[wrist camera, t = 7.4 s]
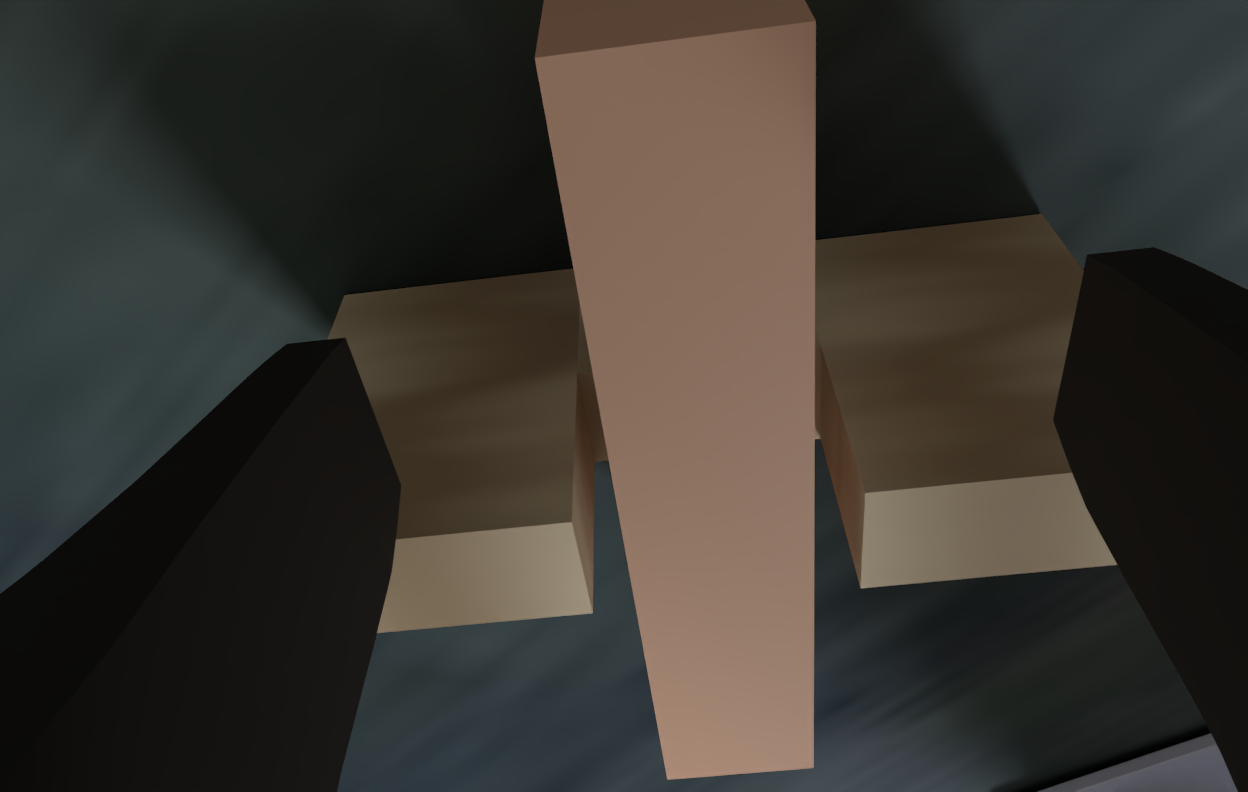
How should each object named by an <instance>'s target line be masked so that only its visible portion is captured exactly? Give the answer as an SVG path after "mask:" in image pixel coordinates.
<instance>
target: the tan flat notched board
mask: <svg viewBox="0 0 1248 792" xmlns="http://www.w3.org/2000/svg"><path fill="white" fill-rule="evenodd" d="M535 63H536V68H537V73H538V79H539V84H540V90H541V95H542V101H543V106H544V111H545V117H546V122H547V128H548V133H549V139H550V144H551V150H552V155H553V160H554V166H555V171H556V177H557V182H558V188H559V193H560V198H561V204H562V209H563V215H564V220H565V226H566V231H567V236H568V242H569V247H570V253H571V258H572V264H573V269H574V275H575V280H576V285H577V291H578V296H579V302H580V307H581V313H582V318H583V323H584V329H585V334H586V340H587V345H588V351H589V356H590V361H591V367H592V372H593V378H594V383H595V389H596V394H597V399H598V405H599V410H600V416H601V421H602V427H603V432H604V438H605V443H606V448H607V454H608V459H609V465H610V470H611V476H612V481H613V486H614V492H615V497H616V503H617V508H618V514H619V519H620V524H621V530H622V535H623V541H624V546H625V552H626V557H627V563H628V568H629V573H630V579H631V584H632V590H633V595H634V601H635V606H636V611H637V617H638V622H639V628H640V633H641V639H642V644H643V649H644V655H645V660H646V666H647V671H648V677H649V682H650V688H651V693H652V698H653V704H654V709H655V715H656V720H657V726H658V731H659V736H660V742H661V747H662V753H663V758H664V764H665V769H666V774H667V780H670V779H682V778H695V777H707V776H720V775H732V774H745V773H757V772H769V771H782V770H794V769H807V768H814V490H815V170H816V20H815V18H814V16H813V15H812V13H811V11H810V9H809V7H808V5H807V3H806V2H805V0H544V3H543V9H542V15H541V21H540V28H539V34H538V40H537V46H536V53H535Z"/></svg>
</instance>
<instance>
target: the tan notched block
mask: <svg viewBox="0 0 1248 792" xmlns="http://www.w3.org/2000/svg"><path fill="white" fill-rule="evenodd" d="M1083 273H1084V270H1083V269H1082V267H1081V266H1080V265H1079V263H1078V262H1077V261H1076V259H1075V258H1074V257H1073V255H1072V254H1071V253H1070V251H1069V250H1068V248H1067V247H1066V246H1065V244H1064V243H1063V242H1062V240H1061V239H1060V238H1059V236H1058V235H1057V234H1056V232H1055V231H1054V230H1053V228H1052V227H1051V226H1050V224H1049V223H1048V222H1047V220H1046V219H1045V218H1044V216H1043V215H1042V214H1037V215H1028V216H1020V217H1011V218H1003V219H994V220H985V221H977V222H968V223H960V224H951V225H942V226H934V227H925V228H917V229H908V230H899V231H891V232H882V233H874V234H865V235H857V236H848V237H839V238H831V239H822V240H815V439H821V442H822V446H823V450H824V453H825V457H826V461H827V465H828V468H829V472H830V476H831V480H832V483H833V487H834V491H835V495H836V498H837V502H838V506H839V510H840V513H841V517H842V521H843V525H844V528H845V532H846V536H847V540H848V543H849V547H850V551H851V555H852V558H853V562H854V566H855V570H856V573H857V577H858V581H859V585H860V588H871V587H882V586H893V585H904V584H914V583H925V582H936V581H947V580H958V579H969V578H979V577H990V576H1001V575H1012V574H1023V573H1034V572H1045V571H1055V570H1066V569H1077V568H1088V567H1099V566H1110V565H1117V563H1116V561H1115V559H1114V558H1113V556H1112V554H1111V552H1110V550H1109V549H1108V547H1107V545H1106V543H1105V541H1104V539H1103V538H1102V536H1101V534H1100V532H1099V530H1098V529H1097V527H1096V525H1095V523H1094V521H1093V519H1092V517H1091V516H1090V514H1089V512H1088V510H1087V508H1086V506H1085V504H1084V501H1083V499H1082V496H1081V494H1080V491H1079V489H1078V486H1077V484H1076V481H1075V479H1074V476H1073V474H1072V471H1071V469H1070V466H1069V463H1068V460H1067V458H1066V455H1065V452H1064V449H1063V447H1062V444H1061V441H1060V438H1059V436H1058V433H1057V430H1056V427H1055V424H1054V422H1053V417H1054V412H1055V407H1056V403H1057V398H1058V393H1059V388H1060V383H1061V378H1062V374H1063V369H1064V364H1065V359H1066V354H1067V350H1068V345H1069V340H1070V335H1071V330H1072V326H1073V321H1074V316H1075V311H1076V306H1077V301H1078V297H1079V292H1080V287H1081V282H1082V277H1083ZM337 338H346V340H347V343H348V345H349V348H350V351H351V353H352V356H353V358H354V361H355V364H356V366H357V369H358V372H359V374H360V377H361V380H362V382H363V385H364V388H365V390H366V393H367V396H368V398H369V401H370V403H371V406H372V409H373V411H374V414H375V417H376V419H377V422H378V425H379V427H380V430H381V433H382V435H383V438H384V441H385V443H386V446H387V449H388V451H389V454H390V456H391V459H392V462H393V464H394V467H395V470H396V472H397V475H398V478H399V480H400V483H401V494H400V504H399V515H398V525H397V535H396V543H395V551H394V559H393V567H392V573H391V577H390V582H389V586H388V590H387V594H386V598H385V602H384V606H383V610H382V614H381V618H380V622H379V626H378V631H377V633H383V632H394V631H405V630H415V629H426V628H437V627H448V626H459V625H470V624H481V623H491V622H502V621H513V620H524V619H535V618H546V617H556V616H567V615H578V614H589V613H593V550H594V464H595V462H598V461H608V460H609V459H608V454H607V448H606V443H605V438H604V432H603V427H602V421H601V416H600V410H599V405H598V399H597V394H596V389H595V383H594V378H593V372H592V367H591V361H590V356H589V351H588V345H587V340H586V334H585V329H584V323H583V318H582V313H581V307H580V302H579V296H578V291H577V285H576V280H575V275H574V269H564V270H556V271H547V272H539V273H530V274H521V275H513V276H504V277H496V278H487V279H478V280H470V281H461V282H453V283H444V284H435V285H427V286H418V287H410V288H401V289H393V290H384V291H375V292H367V293H358V294H350V295H344V298H343V300H342V303H341V306H340V308H339V311H338V313H337V316H336V318H335V321H334V324H333V326H332V329H331V331H330V334H329V336H328V339H337ZM328 339H327V340H328Z"/></svg>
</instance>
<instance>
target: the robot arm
mask: <svg viewBox="0 0 1248 792" xmlns="http://www.w3.org/2000/svg"><path fill="white" fill-rule="evenodd" d="M1053 422H1054V424H1055V427H1056V430H1057V433H1058V436H1059V438H1060V441H1061V444H1062V447H1063V449H1064V452H1065V455H1066V458H1067V460H1068V463H1069V466H1070V469H1071V471H1072V474H1073V476H1074V479H1075V481H1076V484H1077V486H1078V489H1079V491H1080V494H1081V496H1082V499H1083V501H1084V504H1085V506H1086V508H1087V510H1088V512H1089V514H1090V516H1091V517H1092V519H1093V521H1094V523H1095V525H1096V527H1097V529H1098V530H1099V532H1100V534H1101V536H1102V538H1103V539H1104V541H1105V543H1106V545H1107V547H1108V549H1109V550H1110V552H1111V554H1112V556H1113V558H1114V559H1115V561H1116V563H1117V565H1118V567H1119V568H1120V570H1121V572H1122V574H1123V576H1124V577H1125V579H1126V581H1127V583H1128V585H1129V586H1130V588H1131V590H1132V592H1133V593H1134V595H1135V597H1136V599H1137V600H1138V602H1139V604H1140V606H1141V608H1142V609H1143V611H1144V613H1145V615H1146V616H1147V618H1148V620H1149V622H1150V623H1151V625H1152V627H1153V629H1154V630H1155V632H1156V634H1157V636H1158V638H1159V639H1160V641H1161V643H1162V645H1163V646H1164V648H1165V650H1166V652H1167V654H1168V655H1169V657H1170V659H1171V661H1172V662H1173V664H1174V666H1175V668H1176V669H1177V671H1178V673H1179V675H1180V677H1181V678H1182V680H1183V682H1184V684H1185V685H1186V687H1187V689H1188V691H1189V692H1190V694H1191V696H1192V698H1193V700H1194V701H1195V703H1196V705H1197V707H1198V709H1199V711H1200V713H1201V715H1202V717H1203V719H1204V721H1205V723H1206V725H1207V727H1208V728H1209V730H1210V732H1211V733H1209V734H1206V735H1203V736H1200V737H1197V738H1194V739H1191V740H1188V741H1185V742H1182V743H1179V744H1176V745H1174V746H1171V747H1168V748H1165V749H1162V750H1159V751H1156V752H1153V753H1150V754H1147V755H1144V756H1141V757H1138V758H1135V759H1132V760H1129V761H1126V762H1123V763H1120V764H1117V765H1114V766H1111V767H1108V768H1105V769H1102V770H1099V771H1096V772H1093V773H1090V774H1087V775H1084V776H1081V777H1078V778H1075V779H1072V780H1069V781H1066V782H1064V783H1061V784H1058V785H1055V786H1052V787H1049V788H1046V789H1043V790H1040V791H1037V792H1248V290H1247V289H1245V288H1243V287H1241V286H1239V285H1237V284H1235V283H1233V282H1231V281H1228V280H1226V279H1224V278H1222V277H1220V276H1218V275H1216V274H1214V273H1212V272H1210V271H1208V270H1206V269H1204V268H1201V267H1199V266H1197V265H1195V264H1193V263H1191V262H1188V261H1186V260H1184V259H1182V258H1179V257H1177V256H1175V255H1172V254H1170V253H1167V252H1165V251H1162V250H1159V249H1157V248H1154V247H1153V248H1144V249H1135V250H1126V251H1117V252H1108V253H1099V254H1091V255H1087V258H1086V263H1085V268H1084V273H1083V277H1082V282H1081V287H1080V292H1079V297H1078V301H1077V306H1076V311H1075V316H1074V321H1073V326H1072V330H1071V335H1070V340H1069V345H1068V350H1067V354H1066V359H1065V364H1064V369H1063V374H1062V378H1061V383H1060V388H1059V393H1058V398H1057V403H1056V407H1055V412H1054V417H1053ZM400 494H401V483H400V480H399V478H398V475H397V472H396V470H395V467H394V464H393V462H392V459H391V456H390V454H389V451H388V449H387V446H386V443H385V441H384V438H383V435H382V433H381V430H380V427H379V425H378V422H377V419H376V417H375V414H374V411H373V409H372V406H371V403H370V401H369V398H368V396H367V393H366V390H365V388H364V385H363V382H362V380H361V377H360V374H359V372H358V369H357V366H356V364H355V361H354V358H353V356H352V353H351V351H350V348H349V345H348V343H347V340H346V338H337V339H328V340H319V341H310V342H301V343H292V344H286V345H285V346H284V347H282V348H281V349H280V350H279V351H277V352H276V353H275V354H274V355H272V356H271V357H270V358H269V359H268V360H266V361H265V362H264V363H263V364H262V365H261V366H260V367H258V368H257V369H256V370H255V371H254V372H253V373H252V374H251V375H250V376H248V377H247V378H246V379H245V380H244V381H243V382H242V383H241V384H240V385H239V386H238V387H237V388H235V389H234V390H233V391H232V392H231V393H230V394H229V395H228V396H227V397H226V398H225V399H224V400H223V401H222V402H220V403H219V404H218V405H217V406H216V407H215V408H214V409H213V410H212V411H211V412H210V413H209V414H208V415H207V416H206V417H205V418H203V419H202V420H201V421H200V422H199V423H198V424H197V425H196V426H195V427H194V428H193V429H192V430H191V431H189V432H188V433H187V434H186V435H185V436H184V437H183V438H182V439H181V440H180V441H179V442H178V443H177V444H175V445H174V446H173V447H172V448H171V449H170V450H169V451H168V452H167V453H166V454H165V455H164V456H162V457H161V458H160V459H159V460H158V461H157V462H156V463H155V464H154V465H153V466H152V467H151V468H150V469H148V470H147V471H146V472H145V473H144V474H143V475H142V476H141V477H140V478H139V479H137V480H136V481H135V482H134V483H133V484H132V485H131V486H129V487H128V488H127V489H126V490H125V491H124V492H122V493H121V494H120V495H119V496H118V497H117V498H115V499H114V500H113V501H112V502H111V503H110V504H108V505H107V506H106V507H105V508H104V509H103V510H101V511H100V512H99V513H98V514H97V515H96V516H94V517H93V518H92V519H91V520H90V521H89V522H87V523H86V524H85V525H84V526H83V527H82V528H80V529H79V530H78V531H77V532H76V533H75V534H73V535H72V536H71V537H70V538H69V539H68V540H66V541H65V542H64V543H63V544H62V545H61V546H59V547H58V548H57V549H56V550H55V551H54V552H52V553H51V554H50V555H49V556H48V557H47V558H45V559H44V560H43V561H42V562H40V563H39V564H38V565H37V566H35V567H34V568H33V569H32V570H30V571H29V572H28V573H27V574H25V575H24V576H23V577H22V578H20V579H19V580H18V581H16V582H15V583H14V584H13V585H11V586H10V587H9V588H7V589H6V590H5V591H4V592H2V593H1V594H0V792H337V789H338V784H339V779H340V774H341V770H342V766H343V762H344V759H345V755H346V751H347V747H348V743H349V739H350V735H351V731H352V728H353V724H354V720H355V716H356V712H357V708H358V704H359V700H360V697H361V693H362V689H363V685H364V681H365V677H366V673H367V670H368V666H369V662H370V658H371V654H372V650H373V646H374V643H375V639H376V635H377V631H378V626H379V622H380V618H381V614H382V610H383V606H384V602H385V598H386V594H387V590H388V586H389V582H390V577H391V573H392V567H393V559H394V551H395V543H396V535H397V525H398V515H399V504H400Z"/></svg>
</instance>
